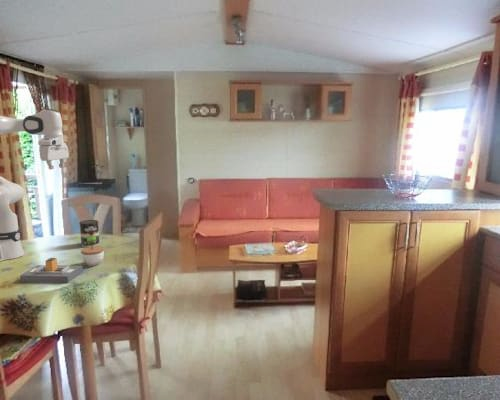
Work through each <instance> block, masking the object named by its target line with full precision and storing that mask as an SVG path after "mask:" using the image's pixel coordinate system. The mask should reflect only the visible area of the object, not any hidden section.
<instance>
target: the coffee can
mask: <svg viewBox="0 0 500 400" xmlns="http://www.w3.org/2000/svg"><path fill="white" fill-rule="evenodd" d="M79 229H80V246H82V247H84V248H87V247H91V246H99V245H100V244H101V243H100V230H99V220H97V219H86V220H82V221H79Z"/></svg>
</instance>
